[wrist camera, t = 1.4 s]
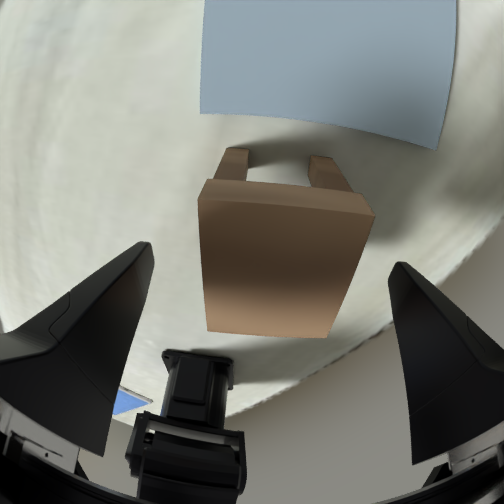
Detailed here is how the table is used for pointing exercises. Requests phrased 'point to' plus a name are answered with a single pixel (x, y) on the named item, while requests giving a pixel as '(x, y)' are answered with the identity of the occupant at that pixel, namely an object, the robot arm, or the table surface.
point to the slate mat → (332, 63)
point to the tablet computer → (128, 401)
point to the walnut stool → (278, 249)
